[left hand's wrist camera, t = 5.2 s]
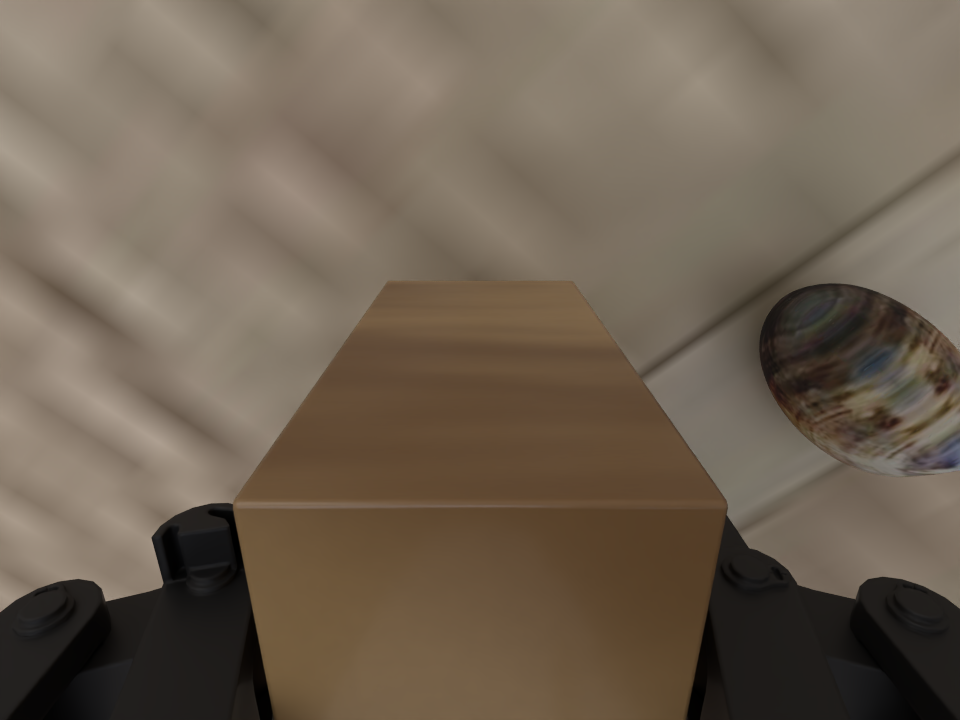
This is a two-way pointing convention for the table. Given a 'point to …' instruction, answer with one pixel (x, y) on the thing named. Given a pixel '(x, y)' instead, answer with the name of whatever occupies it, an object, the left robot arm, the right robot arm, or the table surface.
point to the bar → (480, 521)
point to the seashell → (865, 379)
